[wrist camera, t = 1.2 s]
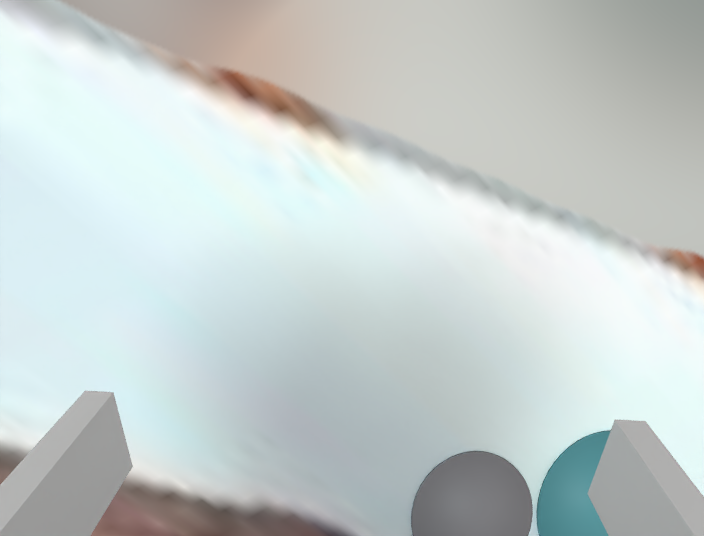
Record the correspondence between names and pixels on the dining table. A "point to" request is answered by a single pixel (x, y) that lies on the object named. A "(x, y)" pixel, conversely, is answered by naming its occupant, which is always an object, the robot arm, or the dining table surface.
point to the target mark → (572, 491)
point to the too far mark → (473, 499)
